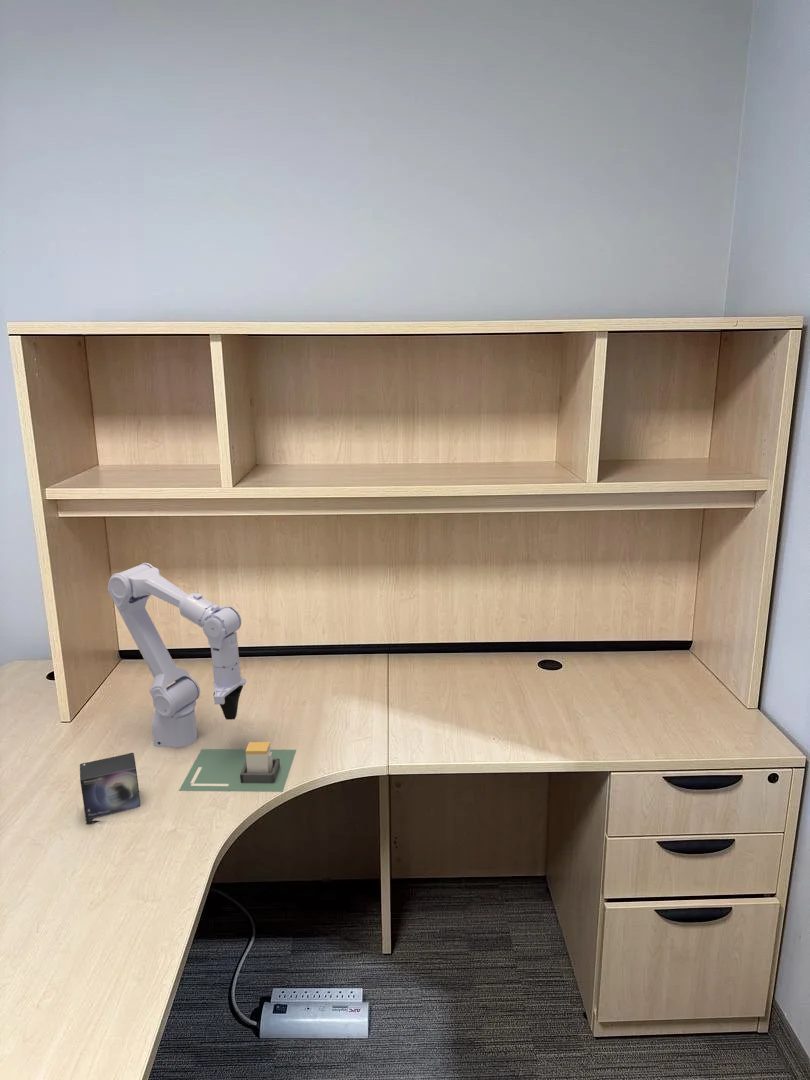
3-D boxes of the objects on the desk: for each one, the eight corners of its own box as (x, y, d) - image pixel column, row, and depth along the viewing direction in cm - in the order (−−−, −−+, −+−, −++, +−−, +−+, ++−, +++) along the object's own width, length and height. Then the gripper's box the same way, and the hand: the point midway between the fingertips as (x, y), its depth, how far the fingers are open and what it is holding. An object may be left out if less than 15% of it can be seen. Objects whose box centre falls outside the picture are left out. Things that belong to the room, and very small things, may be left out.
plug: (247, 778, 159) (245, 751, 157) (251, 769, 162) (249, 742, 160) (271, 778, 159) (268, 751, 157) (274, 769, 162) (272, 742, 160)
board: (179, 795, 156) (177, 782, 155) (202, 753, 171) (200, 741, 170) (283, 796, 155) (282, 783, 154) (296, 754, 170) (295, 741, 169)
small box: (85, 826, 146) (78, 780, 144) (85, 807, 152) (78, 763, 149) (142, 812, 150) (136, 767, 148) (139, 794, 156) (133, 751, 153)
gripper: (235, 677, 155) (240, 735, 159) (251, 648, 169) (256, 702, 173) (202, 677, 155) (208, 734, 159) (221, 648, 169) (226, 702, 173)
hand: (231, 718), depth 166 cm, fingers closed
